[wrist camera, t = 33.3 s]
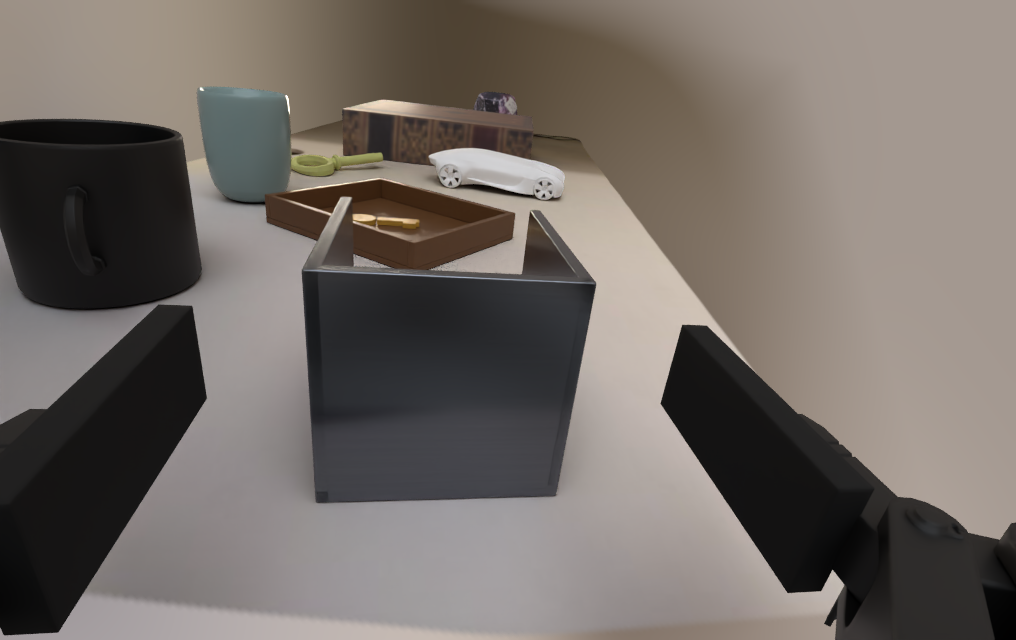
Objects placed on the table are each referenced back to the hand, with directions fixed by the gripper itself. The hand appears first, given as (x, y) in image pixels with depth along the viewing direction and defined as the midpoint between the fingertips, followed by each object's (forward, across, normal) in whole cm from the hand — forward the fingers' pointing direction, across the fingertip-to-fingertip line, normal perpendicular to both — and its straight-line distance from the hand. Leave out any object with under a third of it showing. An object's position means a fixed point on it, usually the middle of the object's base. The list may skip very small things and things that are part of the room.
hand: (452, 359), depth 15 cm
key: (+62, -12, -8) cm, 64 cm away
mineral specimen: (+110, +14, -8) cm, 111 cm away
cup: (+44, -18, -8) cm, 48 cm away
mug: (+21, -19, -8) cm, 29 cm away
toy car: (+59, +9, -8) cm, 60 cm away
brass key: (+37, -4, -6) cm, 37 cm away
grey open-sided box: (+7, 0, -8) cm, 10 cm away
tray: (+36, -3, -8) cm, 37 cm away
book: (+83, +3, -8) cm, 83 cm away
